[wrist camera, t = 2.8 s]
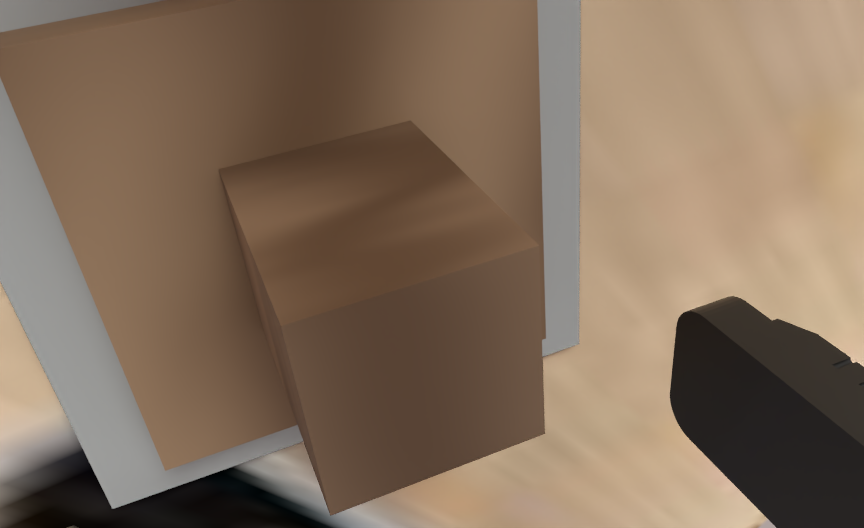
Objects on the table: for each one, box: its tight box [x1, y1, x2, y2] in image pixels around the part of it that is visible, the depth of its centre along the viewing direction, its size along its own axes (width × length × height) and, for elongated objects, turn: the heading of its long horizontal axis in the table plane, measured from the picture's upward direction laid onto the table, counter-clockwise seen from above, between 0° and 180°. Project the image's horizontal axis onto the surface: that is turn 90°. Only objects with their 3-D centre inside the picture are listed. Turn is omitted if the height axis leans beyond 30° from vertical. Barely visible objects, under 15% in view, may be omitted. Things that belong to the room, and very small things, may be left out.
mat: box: [0, 0, 581, 509], centre depth 16 cm, size 12×12×1 cm
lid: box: [0, 0, 546, 515], centre depth 14 cm, size 9×9×6 cm
